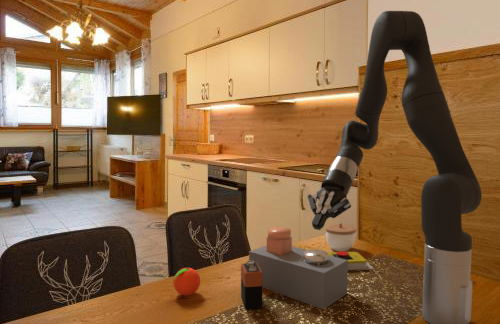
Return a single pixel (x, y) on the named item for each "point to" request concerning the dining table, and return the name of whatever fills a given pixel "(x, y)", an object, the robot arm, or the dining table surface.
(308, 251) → the silver jar
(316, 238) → the dining table surface
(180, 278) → the clementine
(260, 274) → the battery
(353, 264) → the emergency button
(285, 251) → the orange canister
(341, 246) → the lidded jar
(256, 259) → the console
